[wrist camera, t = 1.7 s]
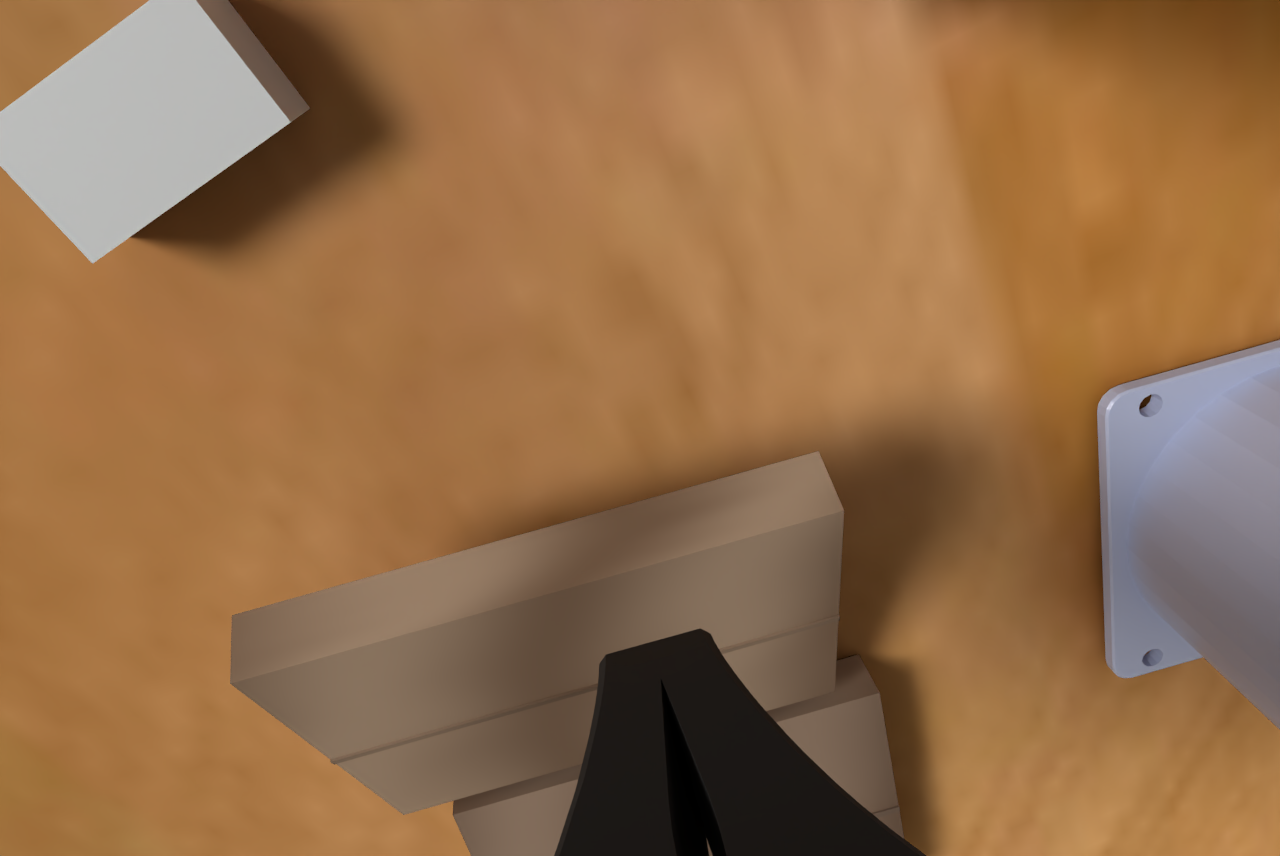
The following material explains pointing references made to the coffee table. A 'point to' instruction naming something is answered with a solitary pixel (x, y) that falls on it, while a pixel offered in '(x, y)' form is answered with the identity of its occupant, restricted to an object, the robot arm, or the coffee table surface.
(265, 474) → the coffee table surface
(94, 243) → the light grey block
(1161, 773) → the coffee table surface
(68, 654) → the coffee table surface
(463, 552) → the board
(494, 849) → the laid board
